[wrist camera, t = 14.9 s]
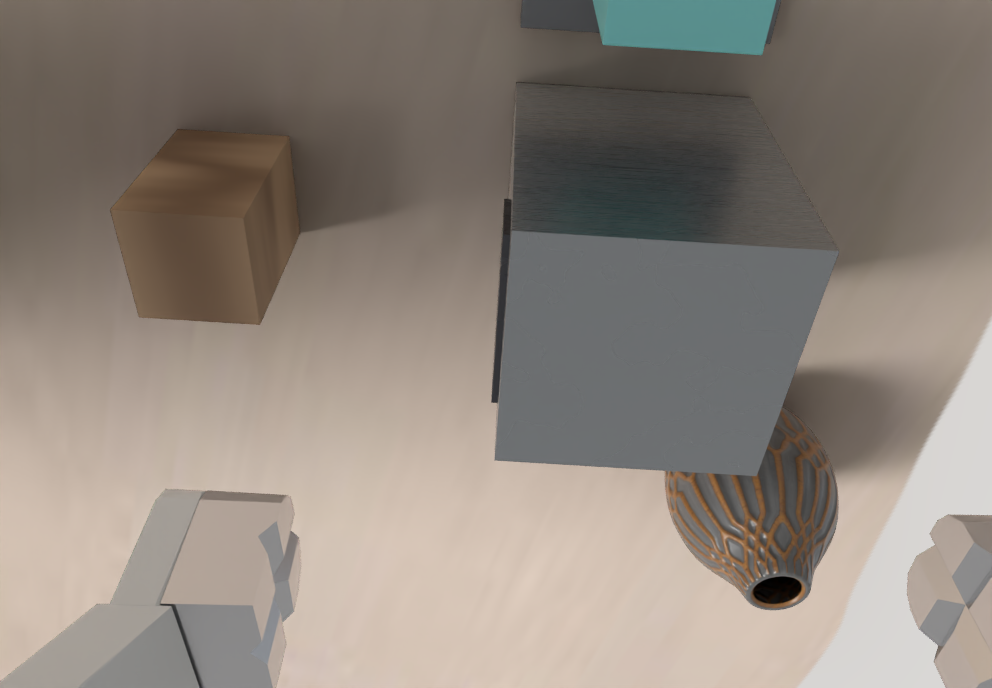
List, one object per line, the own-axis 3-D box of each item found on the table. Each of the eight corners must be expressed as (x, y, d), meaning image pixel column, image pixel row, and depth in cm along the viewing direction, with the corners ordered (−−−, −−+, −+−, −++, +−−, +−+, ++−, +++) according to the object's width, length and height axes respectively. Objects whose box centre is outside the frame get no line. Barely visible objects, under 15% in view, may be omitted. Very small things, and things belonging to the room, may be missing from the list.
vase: (721, 348, 34) (770, 508, 27) (842, 411, 36) (916, 575, 29) (626, 446, 38) (647, 609, 31) (740, 498, 40) (784, 662, 33)
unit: (497, 278, 32) (487, 460, 25) (510, 82, 28) (503, 229, 20) (708, 291, 33) (766, 476, 25) (759, 98, 28) (851, 252, 20)
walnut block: (197, 226, 31) (139, 317, 27) (178, 128, 29) (109, 210, 24) (300, 232, 32) (259, 324, 27) (289, 135, 29) (243, 218, 24)
